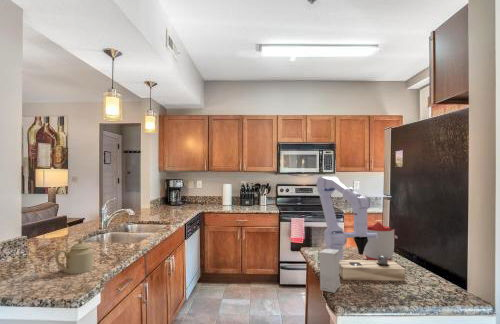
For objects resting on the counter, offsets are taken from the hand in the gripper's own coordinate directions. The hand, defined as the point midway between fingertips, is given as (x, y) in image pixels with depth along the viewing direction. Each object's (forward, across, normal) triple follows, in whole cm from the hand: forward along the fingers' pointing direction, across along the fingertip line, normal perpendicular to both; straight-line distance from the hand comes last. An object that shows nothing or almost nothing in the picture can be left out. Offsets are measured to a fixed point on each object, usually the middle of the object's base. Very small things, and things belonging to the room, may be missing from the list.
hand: (360, 254), depth 141 cm
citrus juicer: (+10, +17, +24) cm, 31 cm away
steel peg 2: (+6, +10, 0) cm, 11 cm away
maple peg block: (+9, +4, 0) cm, 10 cm away
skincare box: (+10, -17, -16) cm, 25 cm away
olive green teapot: (+10, -128, -1) cm, 129 cm away
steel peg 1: (+10, -2, 0) cm, 10 cm away
